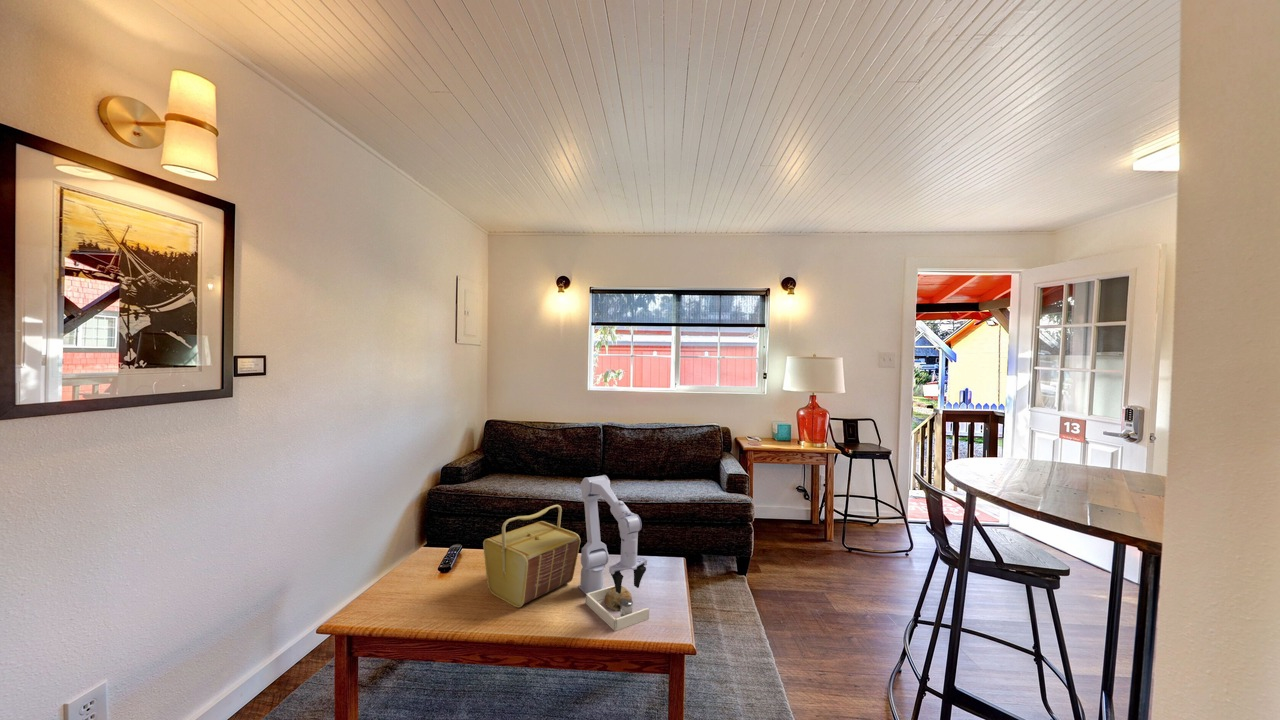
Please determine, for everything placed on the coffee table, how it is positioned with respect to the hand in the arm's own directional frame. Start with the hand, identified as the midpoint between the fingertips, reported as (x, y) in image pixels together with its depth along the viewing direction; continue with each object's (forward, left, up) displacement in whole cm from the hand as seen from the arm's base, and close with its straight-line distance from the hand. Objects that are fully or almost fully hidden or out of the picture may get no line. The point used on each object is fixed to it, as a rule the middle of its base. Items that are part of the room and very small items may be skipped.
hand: (627, 589), depth 159 cm
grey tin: (+1, -1, -10) cm, 10 cm away
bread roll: (-10, +3, -10) cm, 14 cm away
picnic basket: (-36, -21, -10) cm, 43 cm away
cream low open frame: (-5, -1, -10) cm, 11 cm away
